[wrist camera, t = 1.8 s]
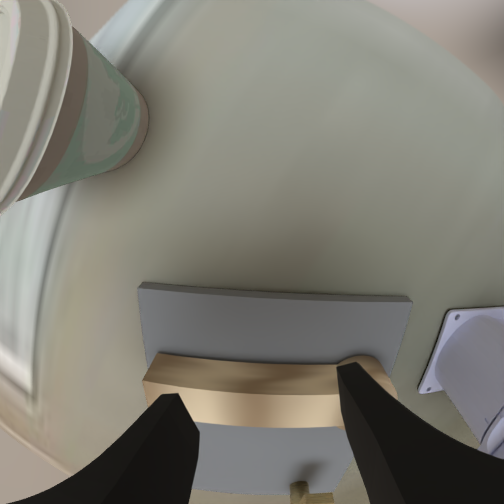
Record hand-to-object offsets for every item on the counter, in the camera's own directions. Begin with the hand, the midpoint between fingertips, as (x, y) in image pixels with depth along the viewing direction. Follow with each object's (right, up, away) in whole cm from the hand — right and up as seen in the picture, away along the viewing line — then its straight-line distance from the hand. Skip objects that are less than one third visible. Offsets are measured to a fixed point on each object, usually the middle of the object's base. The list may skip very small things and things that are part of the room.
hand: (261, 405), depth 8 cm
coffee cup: (-9, +13, +7) cm, 17 cm away
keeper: (+5, -17, +14) cm, 23 cm away
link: (+1, -4, +10) cm, 11 cm away
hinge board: (+1, -10, +13) cm, 16 cm away
